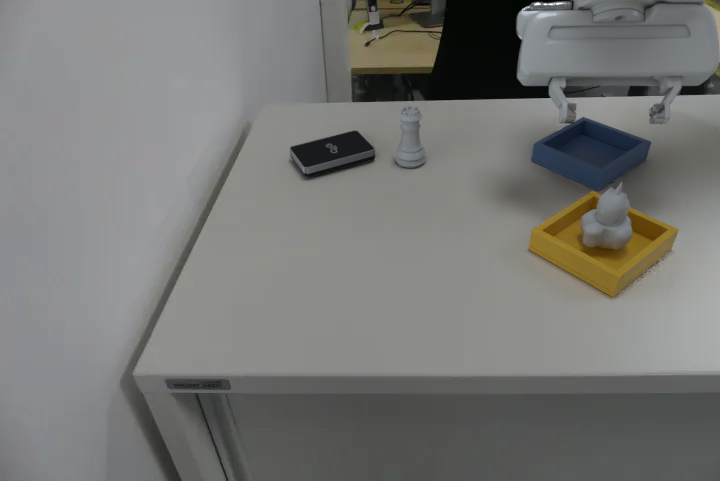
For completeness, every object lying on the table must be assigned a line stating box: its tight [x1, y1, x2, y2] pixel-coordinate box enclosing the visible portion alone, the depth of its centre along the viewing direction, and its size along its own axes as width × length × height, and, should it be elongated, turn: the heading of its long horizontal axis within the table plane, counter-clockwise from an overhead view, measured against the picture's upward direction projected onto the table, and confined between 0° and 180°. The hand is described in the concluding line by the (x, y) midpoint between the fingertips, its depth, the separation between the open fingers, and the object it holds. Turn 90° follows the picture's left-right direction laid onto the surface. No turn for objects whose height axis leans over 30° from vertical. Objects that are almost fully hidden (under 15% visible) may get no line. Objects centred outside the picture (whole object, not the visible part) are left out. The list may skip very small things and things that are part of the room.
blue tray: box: [530, 116, 653, 192], centre depth 77 cm, size 12×11×3 cm
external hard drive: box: [289, 129, 376, 179], centre depth 81 cm, size 7×11×2 cm, turn 114°
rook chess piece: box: [394, 105, 427, 169], centre depth 78 cm, size 4×4×8 cm
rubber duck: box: [580, 181, 632, 250], centre depth 60 cm, size 5×7×8 cm
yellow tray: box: [528, 190, 680, 298], centre depth 62 cm, size 12×11×3 cm
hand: (612, 122), depth 60 cm, fingers open, 8 cm apart
